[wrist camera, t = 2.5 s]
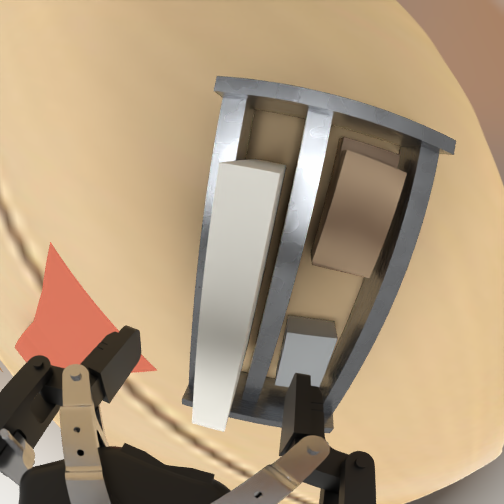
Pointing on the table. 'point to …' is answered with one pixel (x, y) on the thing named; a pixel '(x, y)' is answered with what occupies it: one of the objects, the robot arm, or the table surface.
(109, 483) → the robot arm
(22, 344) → the sheet
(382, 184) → the offcut
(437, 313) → the table surface
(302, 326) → the offcut
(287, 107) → the rack
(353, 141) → the offcut
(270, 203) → the white flat board
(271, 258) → the table surface
